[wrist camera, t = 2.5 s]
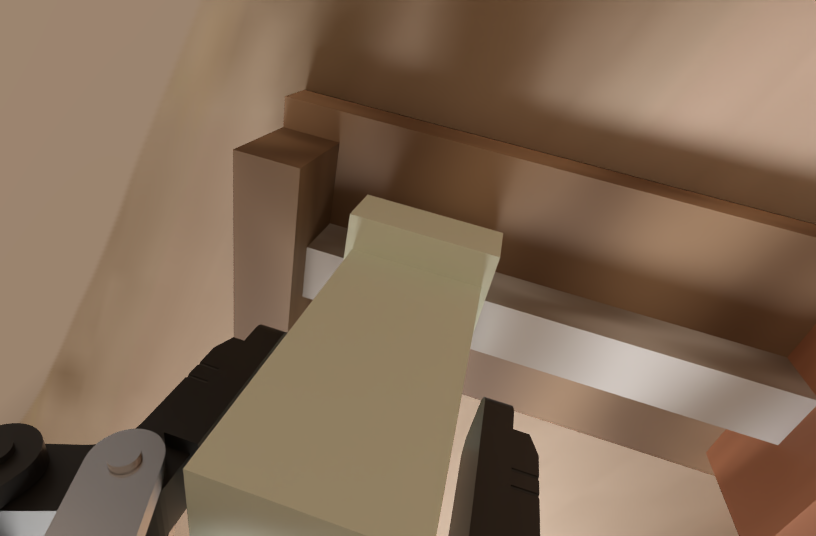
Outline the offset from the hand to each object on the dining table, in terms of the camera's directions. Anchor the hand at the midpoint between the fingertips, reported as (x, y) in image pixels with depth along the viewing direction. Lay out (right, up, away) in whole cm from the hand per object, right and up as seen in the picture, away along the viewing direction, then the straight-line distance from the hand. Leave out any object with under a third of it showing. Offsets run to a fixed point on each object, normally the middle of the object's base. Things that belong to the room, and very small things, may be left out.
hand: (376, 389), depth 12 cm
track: (+6, +2, +6) cm, 9 cm away
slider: (+1, +3, +5) cm, 5 cm away
